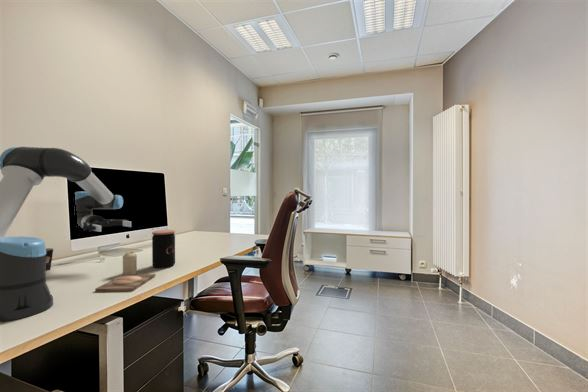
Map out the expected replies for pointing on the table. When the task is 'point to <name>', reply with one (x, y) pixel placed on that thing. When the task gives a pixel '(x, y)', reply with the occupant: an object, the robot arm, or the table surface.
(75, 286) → the table surface
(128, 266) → the candle
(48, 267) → the coffee mug
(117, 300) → the table surface
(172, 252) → the coffee jar
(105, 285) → the candle board
